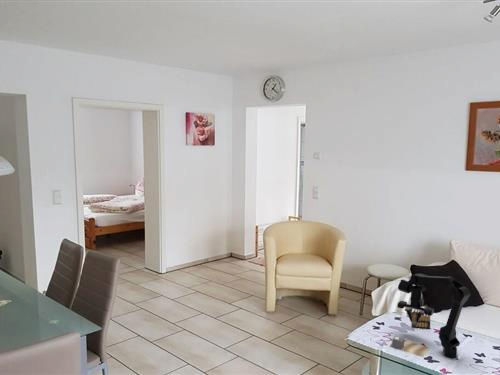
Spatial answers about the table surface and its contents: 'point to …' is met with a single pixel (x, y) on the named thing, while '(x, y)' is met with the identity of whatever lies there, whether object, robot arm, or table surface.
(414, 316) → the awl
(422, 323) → the ammunition clip
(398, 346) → the box
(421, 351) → the board
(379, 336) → the table surface
